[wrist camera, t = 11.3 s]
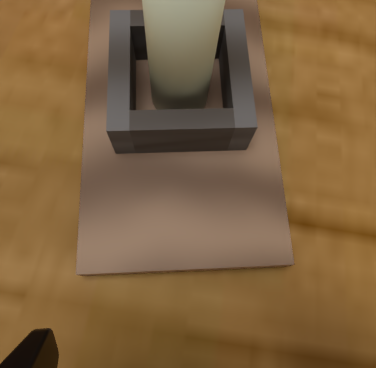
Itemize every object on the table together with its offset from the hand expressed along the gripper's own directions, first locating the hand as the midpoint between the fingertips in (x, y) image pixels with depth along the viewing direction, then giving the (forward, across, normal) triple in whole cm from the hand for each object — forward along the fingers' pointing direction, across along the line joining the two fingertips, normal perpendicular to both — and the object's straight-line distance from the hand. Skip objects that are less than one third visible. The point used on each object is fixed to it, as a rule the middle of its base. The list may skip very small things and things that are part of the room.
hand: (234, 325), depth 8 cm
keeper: (+17, 0, -2) cm, 17 cm away
